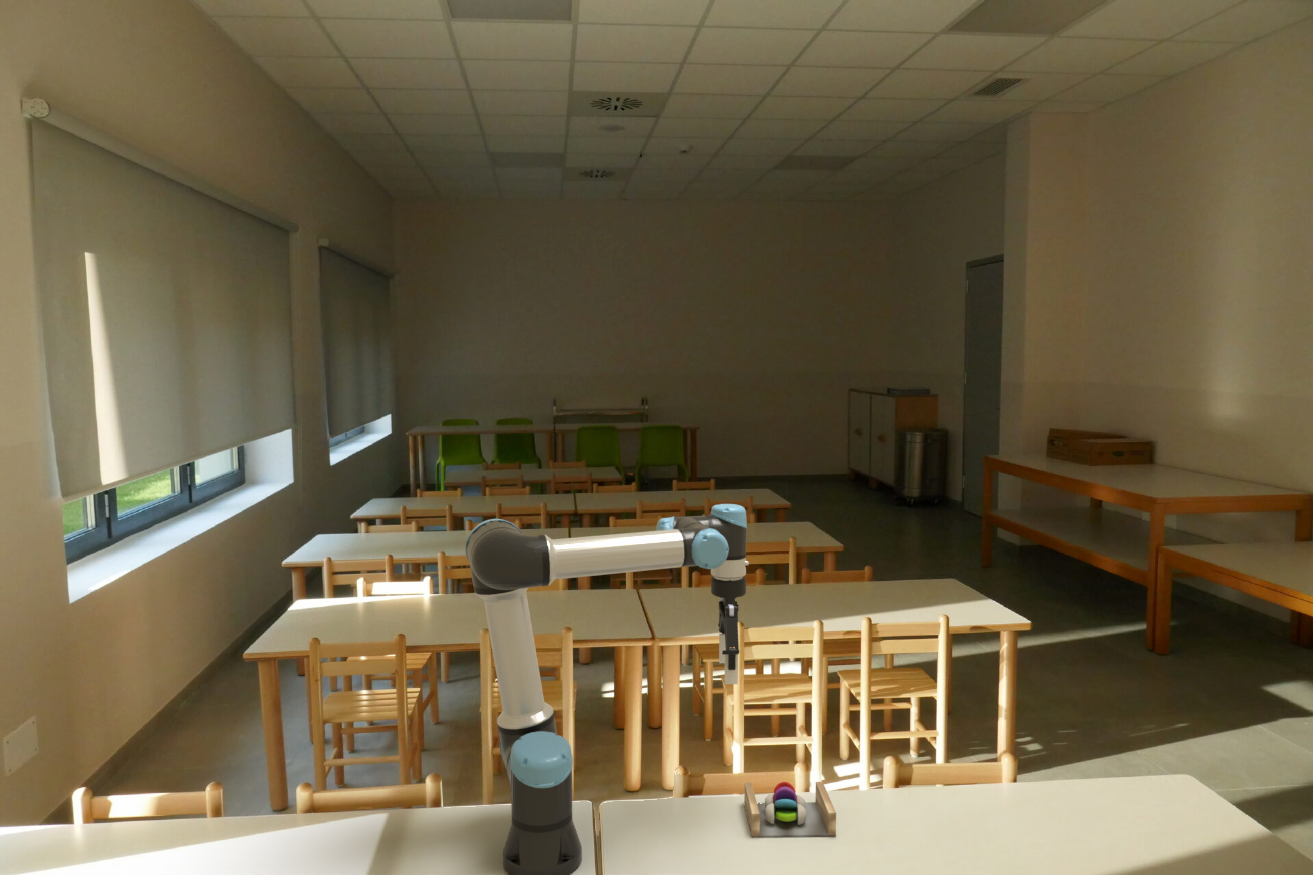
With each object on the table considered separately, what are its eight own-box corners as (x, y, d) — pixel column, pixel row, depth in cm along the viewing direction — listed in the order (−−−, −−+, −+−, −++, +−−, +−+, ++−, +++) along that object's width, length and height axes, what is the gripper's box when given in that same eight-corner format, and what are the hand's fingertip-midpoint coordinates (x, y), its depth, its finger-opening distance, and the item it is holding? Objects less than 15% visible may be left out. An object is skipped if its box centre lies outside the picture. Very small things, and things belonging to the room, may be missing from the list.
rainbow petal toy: (804, 808, 201) (804, 775, 200) (806, 830, 191) (807, 796, 190) (764, 806, 202) (764, 773, 201) (765, 828, 192) (765, 794, 191)
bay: (752, 837, 189) (752, 813, 189) (744, 804, 203) (744, 782, 203) (835, 836, 190) (836, 812, 189) (822, 803, 204) (822, 781, 203)
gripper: (753, 590, 189) (752, 692, 190) (739, 563, 213) (739, 654, 215) (715, 590, 188) (715, 693, 190) (707, 563, 213) (706, 654, 215)
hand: (728, 672), depth 203 cm, fingers open, 13 cm apart
